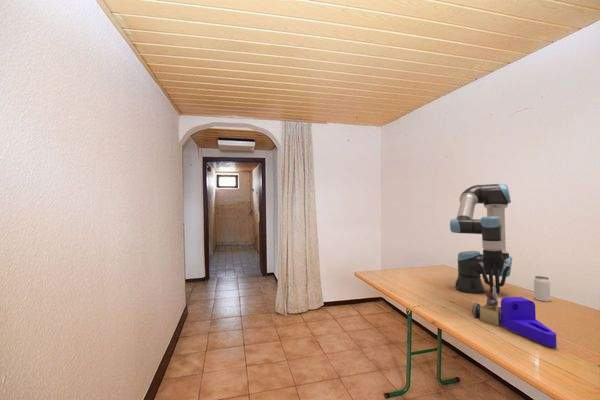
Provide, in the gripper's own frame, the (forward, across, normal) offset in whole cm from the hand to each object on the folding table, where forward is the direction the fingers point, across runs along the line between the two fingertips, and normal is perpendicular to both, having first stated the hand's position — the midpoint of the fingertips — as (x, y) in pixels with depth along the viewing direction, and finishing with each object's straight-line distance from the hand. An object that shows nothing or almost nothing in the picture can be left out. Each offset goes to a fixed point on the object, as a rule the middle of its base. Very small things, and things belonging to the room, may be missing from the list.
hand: (495, 300), depth 126 cm
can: (+8, -13, -42) cm, 45 cm away
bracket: (+7, -14, +14) cm, 21 cm away
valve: (+7, 0, +8) cm, 11 cm away
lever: (0, +1, +3) cm, 3 cm away
